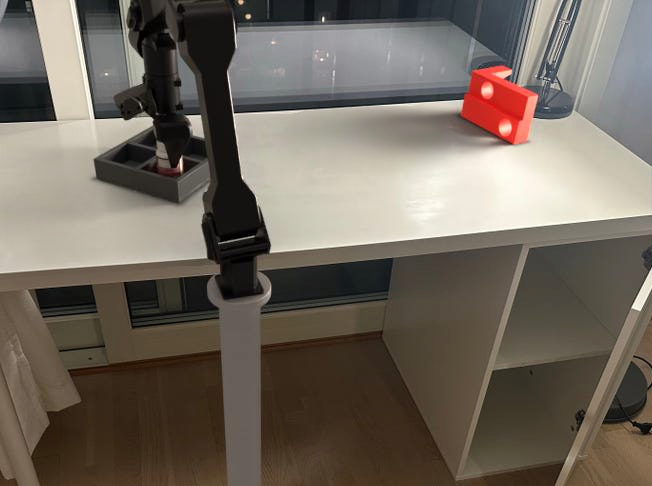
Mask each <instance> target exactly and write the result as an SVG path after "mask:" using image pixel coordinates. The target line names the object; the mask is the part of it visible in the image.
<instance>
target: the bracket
mask: <svg viewBox="0 0 652 486" xmlns="http://www.w3.org/2000/svg"><path fill="white" fill-rule="evenodd" d="M512 71H513V69H511V68H509V67H506V66H504V65H499V66H498V65H497V66H493V67H492V66H491V67H486V68H481V69H475V70H472V71H471V77H470V81H469V87H468V92H467V93H465V94H464V95H463V96H464V97H463V102H462V106H461V111H460V116H461V117H462V118H464V119H466V120H467V121H469V122H472V123H473V124H475V125H478V127H481V128H482V129H484V130H486V131H488V132H490V133H492V134H493V135H496V136H497V137H499V138H501V139H503V140H505V141H507V142H508V143H511V144H512V145H517V144H521V143H526V142H527V141H528V138H529V133H530V130H531V126H532V122H533V118H534V114H535V109H536V106H537V101H538V98H539V94H537V93H535V92H533V91H530V90H529V89H527V88H524V87H522V86H519V85H518V84H515V83H513V82H511V81H508V79H507V80H506V77H508V76H510V75H512Z"/></svg>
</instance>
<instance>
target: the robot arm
mask: <svg viewBox="0 0 652 486" xmlns="http://www.w3.org/2000/svg"><path fill="white" fill-rule="evenodd" d="M125 23H126V28H127V29H129V30H128V33H127V38H128V42H129V44H130V46H131V47H132V49H133V50H134V51H135V52H136V54H137V55H138V56H139V57H140V58H141V59H142V60H143V69H144V73H143V74H142V76H141V81H142V82H141V83H140V84H136V85H134V86H131V87H129V88H127V89H124V90H123V91H121V92H118V93H116V94H115V95H114V96H113V102H114V104H115V105H116V106H115V107H116V108H117V110H118V113H120V115H121V118H122V119H123V121H126V122H127V121H130V120H133V118H134V117H136V116H138V115H141V114H142V113H145V114H147V115H148V116H149V117H150V118H151V119H152V126H153V130H154V135H155V137H156V139H157V141H159V142H161V143H163V144H164V146H165V149H166V153H167V156H168V160H169V163H170V167H171V168H177V166H178V164H179V161H180V159H181V156H182V154H183V152H184V149H185V147H186V145H187V143H188V140H189V139H191V137H192V136H193V135H194V132H193V125H192V122H191V121H190V119H189V117H187V115H185V114H183V113H178V112H179V111H184V103H183V102H182V100H181V89H180V88H182V87H183V85H182V79H181V77H180V74H179V62H178V61H179V60H178V53H179V56H180V58H181V59H182V60H183V62H184V63H185V64H186V65H187V67H188V68H189V70H190V71H191V73H192V74H193V75H194V79H195V80H194V81H195V86H196V94H197V100H198V106H199V112H200V119H201V125H202V132H203V138H204V139H205V145H206V152H207V158H208V165H209V171H210V178H211V180H210V181H209V185H208V187H207V190H206V191H203V192H202V193H203V194H202V196H201V200H202V205H203V211H204V212H203V213H202V217H201V218H202V219H201V223H200V227H201V231H202V235H203V240H204V244H205V249H206V259H207V260H208V261H209V260H210V261H212V262H215V264H216V265H217V266H218V265H219V272H220V274H217V273H216V274H217V275H215V274H214V275H215V281H216V283H217V285H218V288H219V290H220V293H221V295H222V297H223V299H224V300H228V299H234V298H241V297H247V296H253V295H260V294H263V293H264V289H263V287H262V285H261V283H260V281H259V279H258V277H257V271H258V256H263V255H270V254H271V250H272V243H271V239H270V236H269V233H268V229H267V225H266V222H265V218H264V215H263V212H262V209H261V207H260V205H259V202H258V197H257V195H256V193H255V192H254V190H253V189H251V186H249V184H248V183H247V181H246V180H245V179H244V177H243V169H242V163H241V155H240V148H239V142H238V141H239V139H238V134H237V127H236V126H237V125H236V120H235V112H234V105H233V104H234V103H233V99H232V89H231V84H230V76H229V69H230V67H231V64H232V61H233V59H234V56H235V54H236V52H237V49H238V47H237V34H238V19H237V14H236V11H235V9H234V8H233V5H232V4H231V2H230V0H129V7H128V8H127V13H126V19H125ZM166 30H169V32H166ZM170 33H171V34H170Z"/></svg>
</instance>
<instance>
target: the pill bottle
mask: <svg viewBox="0 0 652 486" xmlns="http://www.w3.org/2000/svg"><path fill="white" fill-rule="evenodd" d="M157 148H158V149H157V151H156V158H157V167H158V174H159V175H163V176H166V177H170V178H174V179H177V178H178V177H180V176H181V175H183V174H184V172H183V159H182V156H181V159H180V161H179V164H178V166H177V168H171V167H170V163H169V160H168V156H167V153H166V149H165V146H164V144H163V143H161V142H159V141H157Z"/></svg>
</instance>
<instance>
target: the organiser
mask: <svg viewBox="0 0 652 486" xmlns="http://www.w3.org/2000/svg"><path fill="white" fill-rule="evenodd" d="M157 149H158V148H157V139H156V137H155V135H154V130H153V125H151V126H149V127H148V128H146V129H143V130H142V131H140V132H139V133H136V134H135V135H133V136H131V137H130V138H128V139H126V140H124V141H122V142H120V143H119V144H117V145H116V146H114V147H112V148H110V149H108V150H107V151H104V152H103V153H100V155H97V156H96V157H94V158H93V159H92V160H93V165H94V170H95V177H96V179H97V180H99V181H103V182H106V183H110V184H113V185H116V186H120V187H122V188H126V189H129V190H133V191H136V192H140V193H144V194H147V195H150V196H153V197H157V198H161V199H164V200H167V201H171V202H174V203H178V204H180V203H181V202H182V201H184V200H185V199H187V198H188V197H190V196H191V195H192V194H194V193H195V192H197V191H198V190H199V189H201V188H202V187H203V186H205V185H207V183H210V182H211V178H210V171H209V165H208V158H207V152H206V145H205V139H204V137H201V136H197V135H194V134H193V136H192V137H191V139H189V140H188V143H187V145H186V147H185V149H184V152H183V154H182V159H183V172H184V174H183V175H181V176H180V177H178V178H177V179H174V178H170V177H166V176H163V175H159V174H158V167H157V158H156V151H157Z"/></svg>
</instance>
